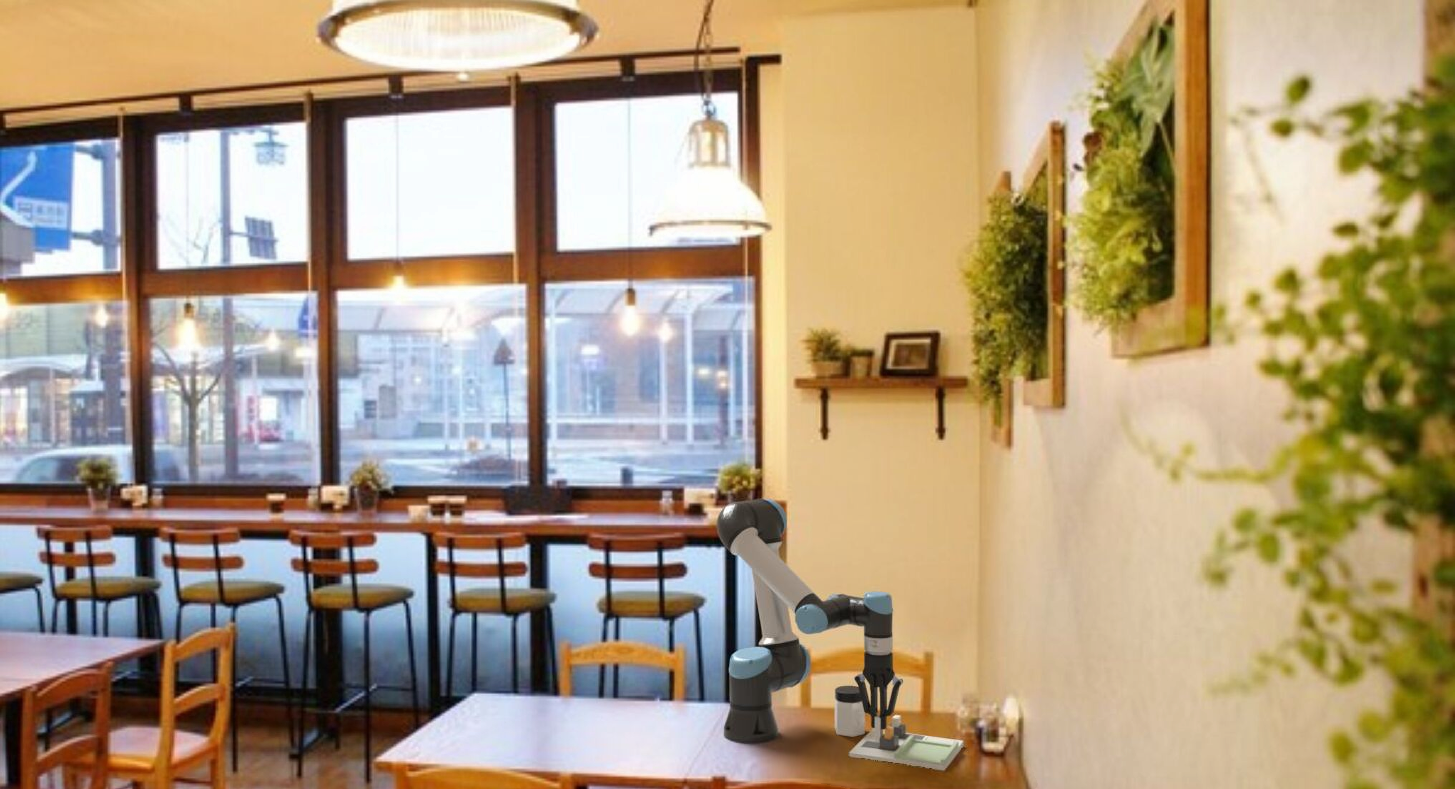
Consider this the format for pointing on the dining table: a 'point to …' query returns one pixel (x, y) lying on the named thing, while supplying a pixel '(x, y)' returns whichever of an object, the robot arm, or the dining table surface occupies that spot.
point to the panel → (910, 750)
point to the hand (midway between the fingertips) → (879, 740)
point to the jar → (849, 711)
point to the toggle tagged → (889, 739)
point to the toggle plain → (898, 726)
